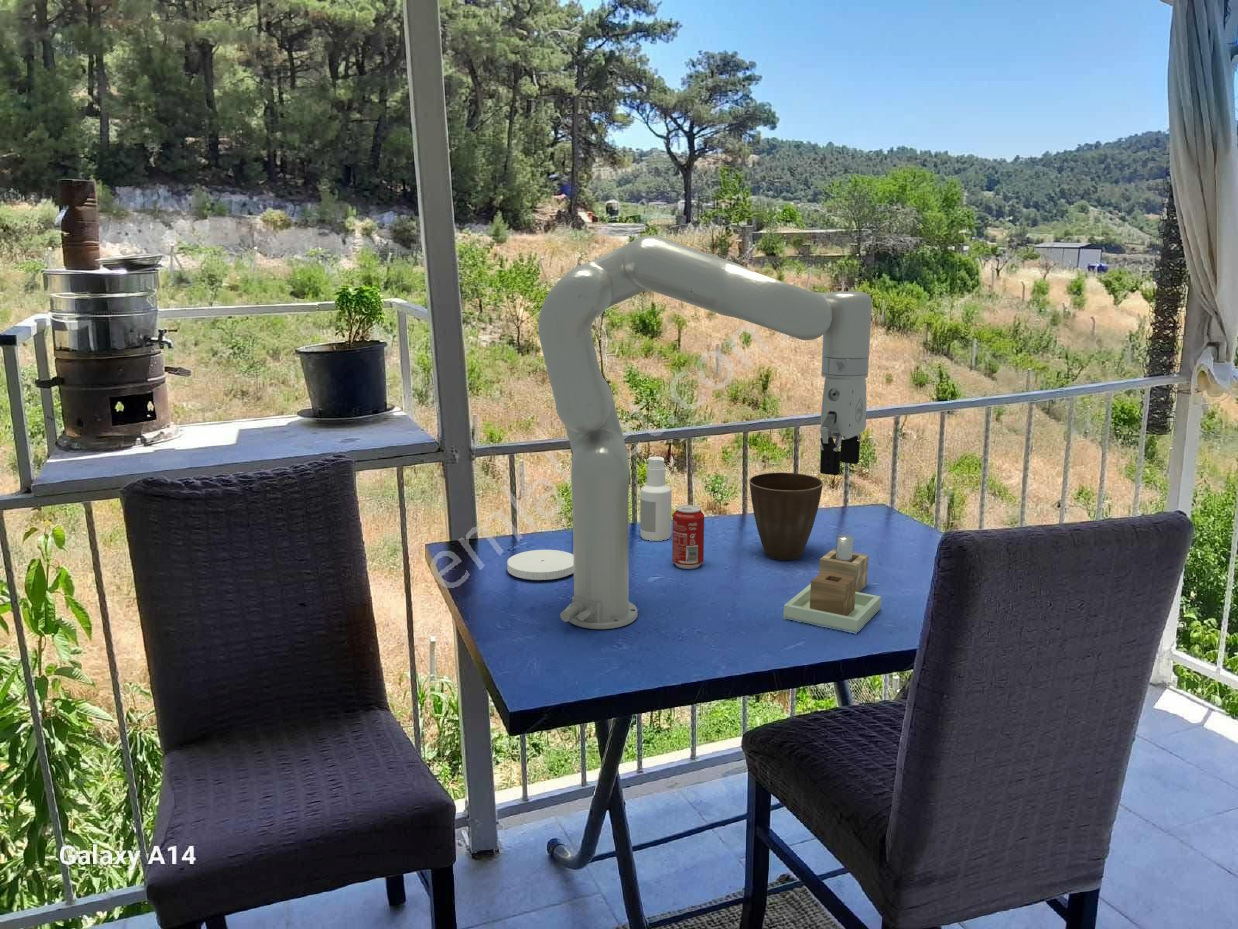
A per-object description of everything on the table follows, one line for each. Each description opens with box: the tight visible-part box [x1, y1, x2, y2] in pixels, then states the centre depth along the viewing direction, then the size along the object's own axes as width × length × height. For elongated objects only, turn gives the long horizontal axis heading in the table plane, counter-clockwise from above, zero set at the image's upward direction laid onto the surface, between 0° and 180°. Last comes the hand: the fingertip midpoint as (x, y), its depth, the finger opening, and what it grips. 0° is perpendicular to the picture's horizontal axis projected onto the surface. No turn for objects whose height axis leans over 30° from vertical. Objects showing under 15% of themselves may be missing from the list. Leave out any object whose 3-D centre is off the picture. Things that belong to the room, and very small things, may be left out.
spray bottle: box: [639, 456, 672, 542], centre depth 209 cm, size 7×7×18 cm
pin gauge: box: [835, 534, 854, 562], centre depth 178 cm, size 3×3×10 cm
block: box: [810, 571, 856, 616], centre depth 165 cm, size 6×6×6 cm
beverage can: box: [671, 504, 705, 570], centre depth 191 cm, size 6×6×12 cm
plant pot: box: [748, 472, 824, 561], centre depth 196 cm, size 15×15×16 cm
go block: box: [818, 548, 869, 593], centre depth 179 cm, size 7×7×6 cm
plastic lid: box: [506, 549, 574, 581], centre depth 189 cm, size 14×14×2 cm
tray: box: [782, 583, 882, 633], centre depth 166 cm, size 13×13×2 cm
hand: (839, 468), depth 160 cm, fingers open, 9 cm apart
